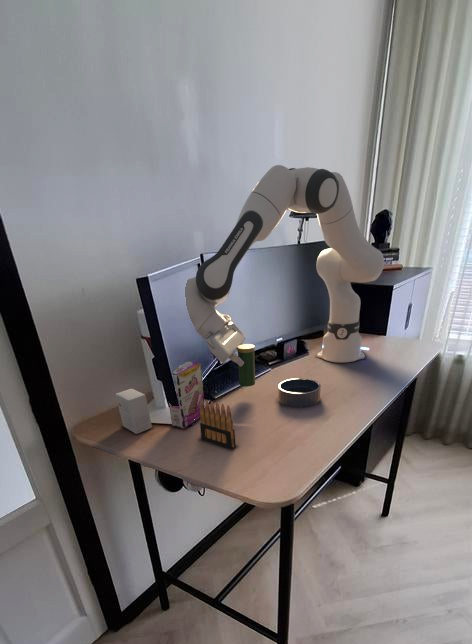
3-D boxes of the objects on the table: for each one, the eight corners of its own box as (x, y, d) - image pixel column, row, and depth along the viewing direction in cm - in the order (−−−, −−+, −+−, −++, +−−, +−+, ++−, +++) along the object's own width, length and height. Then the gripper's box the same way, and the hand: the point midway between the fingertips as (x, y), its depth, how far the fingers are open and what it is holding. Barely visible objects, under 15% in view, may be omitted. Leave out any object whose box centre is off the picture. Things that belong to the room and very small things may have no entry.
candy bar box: (185, 429, 116) (177, 374, 107) (171, 426, 119) (163, 372, 110) (207, 414, 124) (201, 362, 115) (194, 412, 126) (187, 360, 117)
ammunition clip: (201, 439, 111) (196, 398, 104) (205, 437, 112) (200, 396, 105) (231, 449, 105) (228, 407, 99) (236, 446, 106) (233, 404, 100)
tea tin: (241, 380, 134) (239, 343, 127) (257, 381, 133) (256, 344, 126) (237, 386, 130) (235, 348, 123) (253, 387, 128) (252, 349, 122)
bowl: (282, 391, 136) (282, 377, 134) (321, 393, 133) (322, 379, 130) (274, 407, 126) (274, 392, 123) (317, 410, 123) (318, 394, 120)
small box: (152, 428, 118) (146, 394, 113) (136, 434, 115) (128, 400, 110) (138, 420, 124) (131, 387, 118) (122, 426, 121) (114, 393, 115)
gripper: (209, 329, 114) (243, 364, 117) (229, 313, 130) (259, 345, 133) (196, 345, 118) (230, 379, 121) (217, 328, 134) (247, 358, 137)
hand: (245, 361), depth 127 cm, fingers closed on tea tin, 5 cm apart
